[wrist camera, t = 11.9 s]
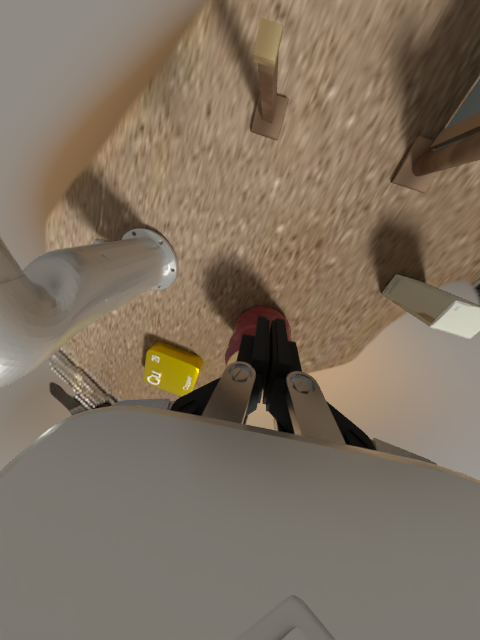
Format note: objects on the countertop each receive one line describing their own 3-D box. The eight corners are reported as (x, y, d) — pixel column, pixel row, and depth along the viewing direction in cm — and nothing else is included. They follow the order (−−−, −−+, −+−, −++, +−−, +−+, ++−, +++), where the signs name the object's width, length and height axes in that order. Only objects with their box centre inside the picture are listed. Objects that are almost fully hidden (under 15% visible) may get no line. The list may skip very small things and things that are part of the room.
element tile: (194, 388, 59) (188, 401, 55) (150, 371, 58) (141, 383, 54) (205, 357, 51) (199, 370, 47) (155, 338, 50) (145, 349, 46)
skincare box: (379, 294, 35) (426, 327, 24) (395, 273, 33) (454, 299, 22) (410, 304, 35) (470, 341, 24) (428, 283, 33) (503, 314, 22)
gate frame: (451, 149, 24) (629, 81, 12) (422, 192, 27) (545, 172, 15) (261, 86, 24) (252, -45, 12) (250, 136, 27) (233, 69, 15)
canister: (300, 316, 40) (318, 377, 25) (276, 356, 46) (278, 424, 31) (245, 296, 39) (229, 345, 24) (229, 339, 46) (208, 399, 31)
